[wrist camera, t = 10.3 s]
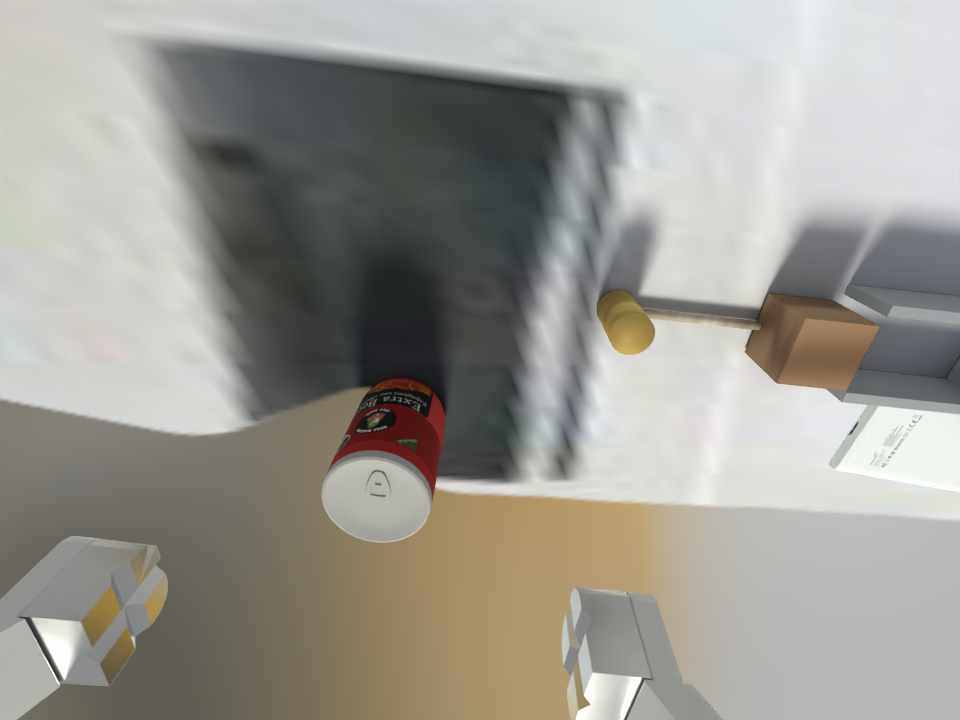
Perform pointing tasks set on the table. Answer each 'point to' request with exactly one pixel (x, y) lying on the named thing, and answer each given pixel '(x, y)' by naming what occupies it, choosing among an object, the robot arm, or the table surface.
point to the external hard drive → (904, 447)
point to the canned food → (387, 463)
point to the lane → (904, 389)
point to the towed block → (764, 336)
